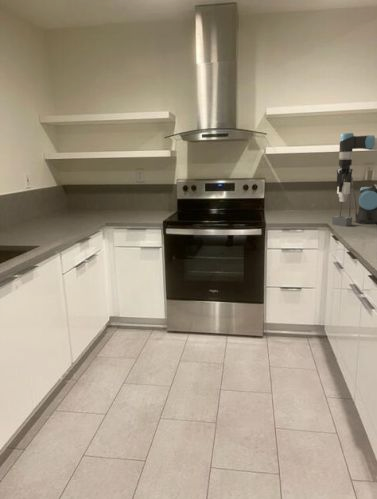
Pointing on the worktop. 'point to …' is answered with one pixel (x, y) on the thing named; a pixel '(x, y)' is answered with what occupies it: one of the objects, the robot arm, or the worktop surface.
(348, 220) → the socket block
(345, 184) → the plug
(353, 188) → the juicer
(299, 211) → the worktop surface
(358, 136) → the robot arm
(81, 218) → the worktop surface
